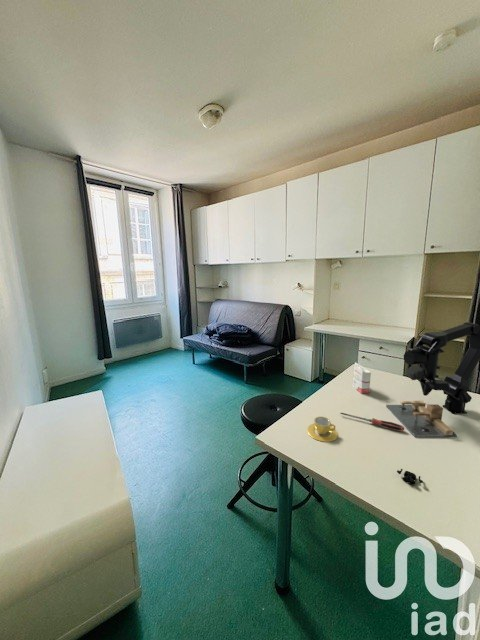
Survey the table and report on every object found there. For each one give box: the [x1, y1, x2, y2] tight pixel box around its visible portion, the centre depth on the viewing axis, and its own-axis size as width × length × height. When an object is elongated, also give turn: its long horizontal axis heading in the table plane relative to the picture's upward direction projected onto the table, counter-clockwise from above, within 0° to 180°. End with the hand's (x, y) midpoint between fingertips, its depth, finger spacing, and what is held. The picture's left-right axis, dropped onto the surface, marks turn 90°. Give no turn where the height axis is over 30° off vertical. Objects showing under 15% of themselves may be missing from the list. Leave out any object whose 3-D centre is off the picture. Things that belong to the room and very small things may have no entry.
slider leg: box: [413, 403, 444, 422], centre depth 109 cm, size 10×3×6 cm, turn 87°
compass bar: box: [399, 400, 454, 435], centre depth 111 cm, size 10×22×3 cm, turn 177°
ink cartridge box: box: [352, 362, 372, 394], centre depth 138 cm, size 9×5×15 cm, turn 6°
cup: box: [306, 416, 339, 443], centre depth 105 cm, size 12×12×5 cm
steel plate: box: [385, 404, 458, 438], centre depth 111 cm, size 16×22×1 cm
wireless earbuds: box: [396, 468, 424, 486], centre depth 82 cm, size 7×2×5 cm
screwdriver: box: [339, 412, 405, 432], centre depth 110 cm, size 25×3×3 cm, turn 59°
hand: (425, 395), depth 114 cm, fingers closed
